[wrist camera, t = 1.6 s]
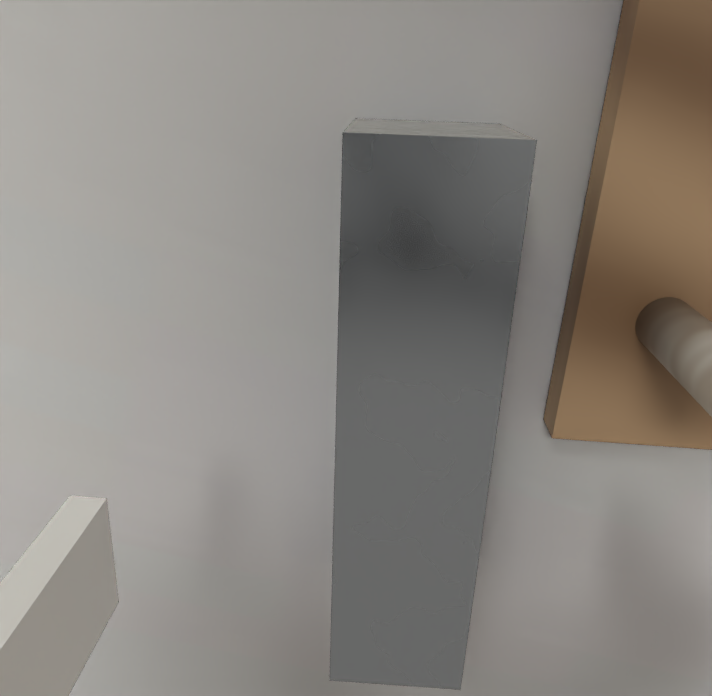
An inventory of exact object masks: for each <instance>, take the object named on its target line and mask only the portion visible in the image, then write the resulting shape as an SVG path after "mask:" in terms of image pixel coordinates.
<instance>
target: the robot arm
mask: <svg viewBox="0 0 712 696" xmlns="http://www.w3.org/2000/svg"><path fill="white" fill-rule="evenodd" d="M118 602H119V599H118V590H117V581H116V573H115V564H114V556H113V547H112V539H111V530H110V521H109V513H108V504H107V498H97V497H84V496H71V495H70V496H69V498H68V499H67V500H66V501H65V503H64V504H63V505H62V506H61V508H60V509H59V510H58V511H57V513H56V514H55V515H54V516H53V518H52V519H51V520H50V521H49V523H48V524H47V525H46V526H45V528H44V529H43V530H42V531H41V533H40V534H39V535H38V536H37V538H36V539H35V540H34V541H33V543H32V544H31V545H30V546H29V548H28V549H27V550H26V551H25V553H24V554H23V555H22V556H21V558H20V559H19V560H18V561H17V563H16V564H15V565H14V566H13V568H12V569H11V570H10V571H9V573H8V574H7V575H6V576H5V578H4V579H3V580H2V582H1V583H0V696H69V694H70V692H71V690H72V688H73V686H74V684H75V683H76V681H77V679H78V677H79V675H80V673H81V671H82V670H83V668H84V666H85V664H86V662H87V660H88V658H89V657H90V655H91V653H92V651H93V649H94V647H95V645H96V643H97V642H98V640H99V638H100V636H101V634H102V632H103V630H104V629H105V627H106V625H107V623H108V621H109V619H110V617H111V616H112V614H113V612H114V610H115V608H116V606H117V604H118Z"/></svg>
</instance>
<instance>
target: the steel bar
mask: <svg viewBox="0 0 712 696" xmlns="http://www.w3.org/2000/svg"><path fill="white" fill-rule="evenodd" d="M536 143H537V140H536V139H533V138H531V137H529V136H527V135H524V134H522V133H520V132H517V131H515V130H513V129H510V128H508V127H506V126H504V125H501V124H494V123H468V122H442V121H416V120H390V119H364V118H355V119H354V121H353V122H352V123H351V124H350V125H349V126H348V127H347V128H346V129H345V130H344V132H343V144H342V186H341V228H340V270H339V312H338V354H337V396H336V438H335V480H334V522H333V564H332V606H331V648H330V680H331V681H345V682H359V683H373V684H387V685H402V686H416V687H430V688H444V689H458V690H460V689H461V682H462V675H463V668H464V660H465V653H466V646H467V639H468V632H469V624H470V617H471V610H472V603H473V596H474V589H475V581H476V574H477V567H478V560H479V553H480V545H481V538H482V531H483V524H484V517H485V510H486V502H487V495H488V488H489V481H490V474H491V466H492V459H493V452H494V445H495V438H496V431H497V423H498V416H499V409H500V402H501V395H502V387H503V380H504V373H505V366H506V359H507V351H508V344H509V337H510V330H511V323H512V316H513V308H514V301H515V294H516V287H517V280H518V272H519V265H520V258H521V251H522V244H523V237H524V229H525V222H526V215H527V208H528V201H529V193H530V186H531V179H532V172H533V165H534V158H535V150H536Z"/></svg>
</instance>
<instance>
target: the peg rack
mask: <svg viewBox="0 0 712 696" xmlns="http://www.w3.org/2000/svg"><path fill="white" fill-rule="evenodd" d="M544 421H545V424H546V426H547V428H548V430H549V433H550V435H551V437H552V438H556V439H570V440H584V441H598V442H612V443H626V444H640V445H654V446H668V447H682V448H696V449H710V450H712V0H624V1H623V6H622V12H621V17H620V22H619V27H618V33H617V38H616V43H615V48H614V53H613V59H612V64H611V69H610V74H609V80H608V85H607V90H606V95H605V100H604V106H603V111H602V116H601V121H600V127H599V132H598V137H597V142H596V148H595V153H594V158H593V163H592V168H591V174H590V179H589V184H588V189H587V195H586V200H585V205H584V210H583V215H582V221H581V226H580V231H579V236H578V242H577V247H576V252H575V257H574V262H573V268H572V273H571V278H570V283H569V289H568V294H567V299H566V304H565V310H564V315H563V320H562V325H561V330H560V336H559V341H558V346H557V351H556V357H555V362H554V367H553V372H552V377H551V383H550V388H549V393H548V398H547V404H546V409H545V414H544Z"/></svg>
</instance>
